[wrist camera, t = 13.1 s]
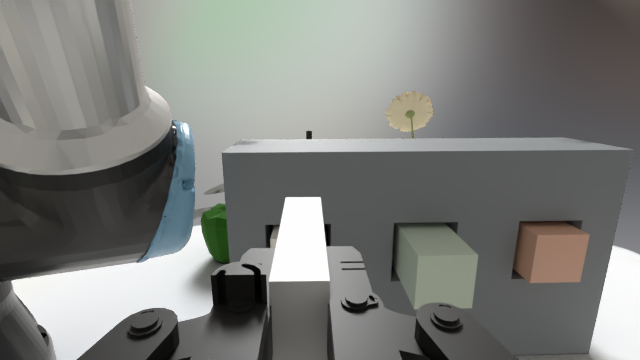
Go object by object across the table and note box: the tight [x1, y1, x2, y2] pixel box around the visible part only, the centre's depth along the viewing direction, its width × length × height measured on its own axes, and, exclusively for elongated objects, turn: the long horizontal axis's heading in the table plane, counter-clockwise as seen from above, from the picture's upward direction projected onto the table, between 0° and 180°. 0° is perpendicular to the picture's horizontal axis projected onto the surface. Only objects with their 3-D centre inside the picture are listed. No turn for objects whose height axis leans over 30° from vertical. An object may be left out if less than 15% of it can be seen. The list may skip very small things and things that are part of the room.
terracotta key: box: [513, 221, 590, 283], centre depth 32 cm, size 4×7×4 cm, turn 2°
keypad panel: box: [222, 138, 634, 355], centre depth 34 cm, size 34×8×20 cm, turn 92°
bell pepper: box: [201, 204, 230, 263], centre depth 52 cm, size 8×8×10 cm
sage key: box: [392, 222, 478, 309], centre depth 29 cm, size 4×7×4 cm, turn 2°
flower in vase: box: [386, 91, 433, 139], centre depth 58 cm, size 13×11×25 cm
